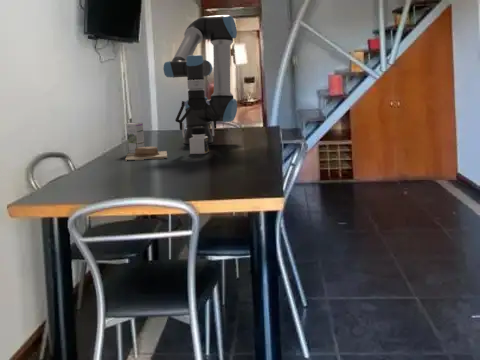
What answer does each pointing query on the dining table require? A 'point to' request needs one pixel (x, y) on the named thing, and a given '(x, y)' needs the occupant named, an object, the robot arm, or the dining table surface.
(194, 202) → the dining table surface
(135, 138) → the syrup box
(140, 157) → the base board
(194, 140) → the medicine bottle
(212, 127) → the robot arm
